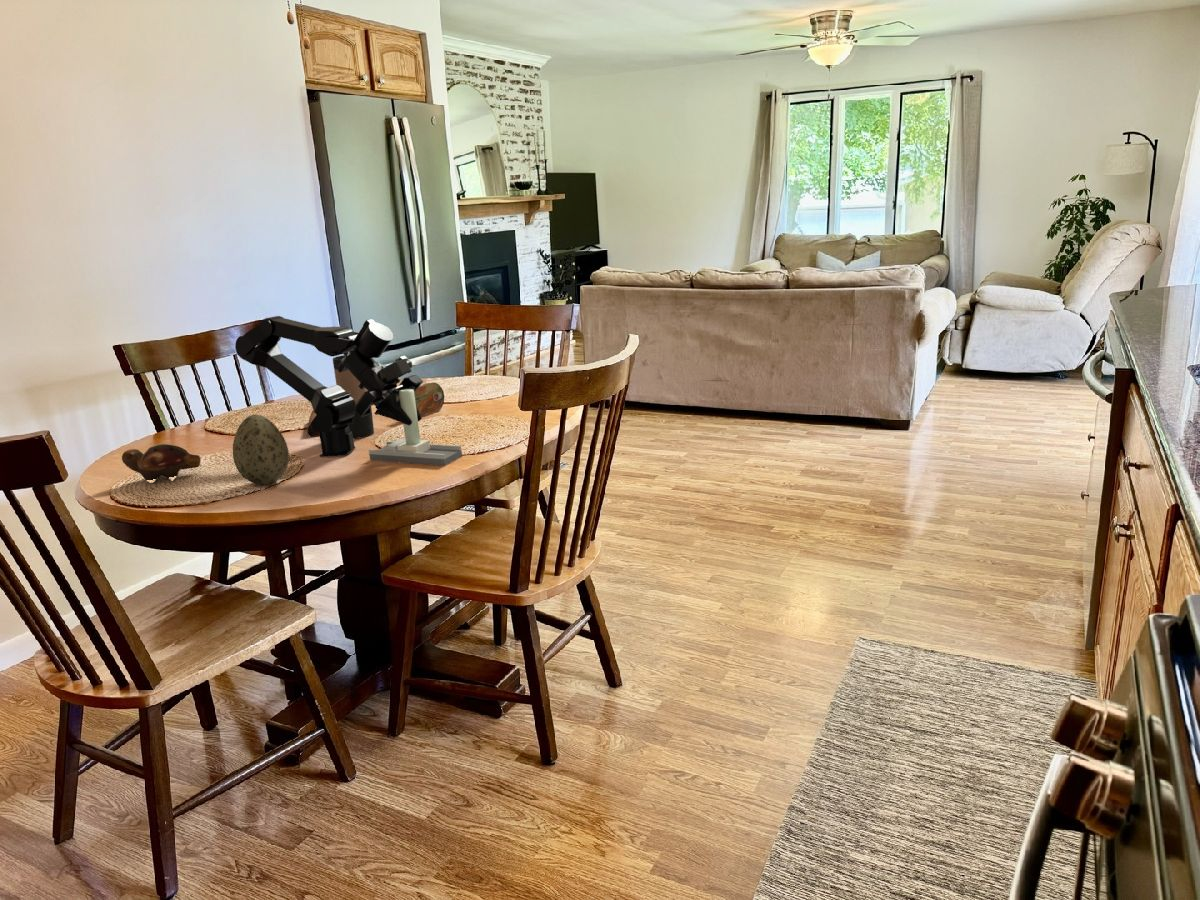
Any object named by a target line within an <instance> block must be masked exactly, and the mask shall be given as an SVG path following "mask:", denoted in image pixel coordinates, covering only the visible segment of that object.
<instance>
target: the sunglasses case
mask: <svg viewBox="0 0 1200 900" xmlns="http://www.w3.org/2000/svg"><path fill="white" fill-rule="evenodd" d="M315 416H316V414H315V413H314V410H313V409H312V412H311V414H310V416H309V419H308V423H307V431H306V432H307V435H308V436H309V437H310V438H312V437H313V438H315V437H320V435H319V432H314V430H313V428H312V426H311V422H312V421H313V419H314V418H315Z"/></svg>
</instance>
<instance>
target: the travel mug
mask: <svg viewBox="0 0 1200 900" xmlns="http://www.w3.org/2000/svg"><path fill="white" fill-rule="evenodd" d="M346 355H347V354H342V355H337V356H334V357H333V358H332V364H333V370H334V378H335V379H334V380H335V385H338V386H340V387H341V388H342V389H343V390H344V391H346V392H347V393H350V394H351V395H350V397H352V398H353V399H354V401H355V405H356V404H357V402H358V401H359V399H360V398H361V397H362V395H363V394H364V392H366V391H368V390H367V389H366V388H364V389H361V388H360V387H359V385H360V382H359V381H358V380H357V378H356V377H355V376H354V375H353V374H352V373H351V372H350V371H349V370H347V371H343V372H338V366H339V363H338V360H341V359H344V358H345V356H346ZM369 409H370V414H369V415H366V416H364V417H361V416H360V415H359V414H358V413H357V412H356V413H355V415H354V421H353V423H352V424H349V428H350V431H352V434H353V439H362V438H366V437H369V436H373V435H374V434H375V429H374V420H373V410H372V406H370V407H369Z"/></svg>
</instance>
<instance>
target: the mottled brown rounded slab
mask: <svg viewBox="0 0 1200 900" xmlns="http://www.w3.org/2000/svg"><path fill="white" fill-rule="evenodd" d="M414 395H415V403H416V406H417V409H418V411H419V413H420V415H421V417H422V418H424V417H428V416H430V415H432V414H436V413H438V412H440V410H442V408H443V406H444V402H445V393H444V390H443V387H442V386H441V385H440V384H439V383H437V382H433V381H432V382H425V383H422V384H421V385H420V386H419V388H418V389H417V390H416V392H415V393H414Z"/></svg>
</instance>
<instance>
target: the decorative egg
mask: <svg viewBox="0 0 1200 900" xmlns="http://www.w3.org/2000/svg"><path fill="white" fill-rule="evenodd" d="M289 452H290V451H289V446H288V444H287V441H286V439H285V437H284V436H283V433H281V430H280V429H279V428H278V427H277V426H276V425H275V424H274V423H273V422H272V421H271V420H270V419H268V418H267V417H265V416H263V415H260V414H251V415H248V416H247V417H245V419H243V420H242V422H241V423H240V424H239V426H238V428H237V430H236V433H235V435H234V439H233V444H232V458H233V462H234V466H235V468H236V470H237V471H238V473H239V474H240V475H241V477H243V478H244V479H245V480H247V481H249V482H250V483H252V484H254V485H259V484H267V485H270V484H269V483H271V484H273V483H275V482H277V481H279V479H281V478H282V477H283V475H284V474H285V472H286V470H287V468H288V465H289V462H290V461H289V460H290V454H289Z"/></svg>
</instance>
